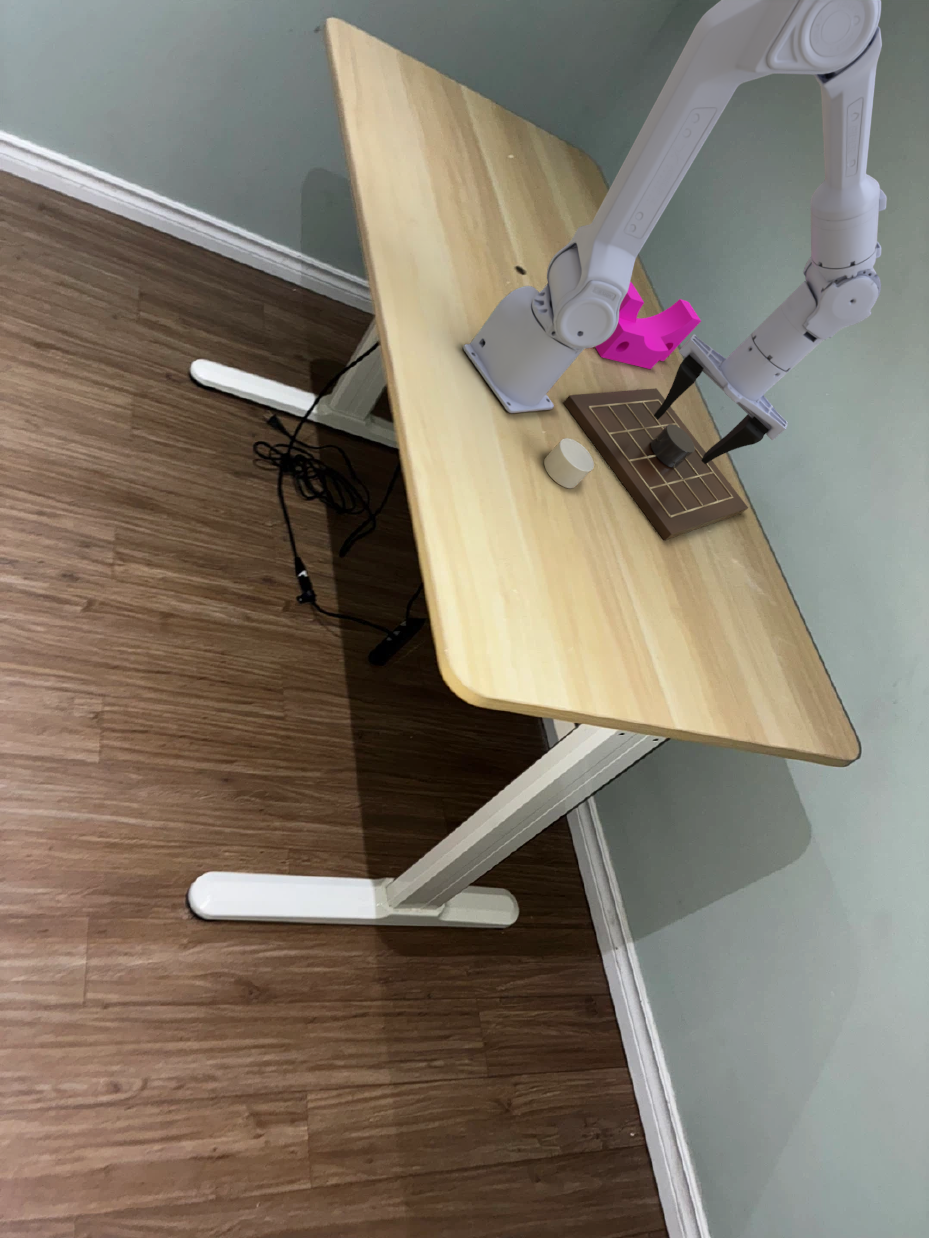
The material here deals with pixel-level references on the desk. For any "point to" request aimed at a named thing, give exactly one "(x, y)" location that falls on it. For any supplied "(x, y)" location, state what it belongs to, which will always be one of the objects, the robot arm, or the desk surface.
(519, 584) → the desk surface
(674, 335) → the toy block
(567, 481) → the white stone
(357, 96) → the desk surface
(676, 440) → the black stone
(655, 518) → the board
